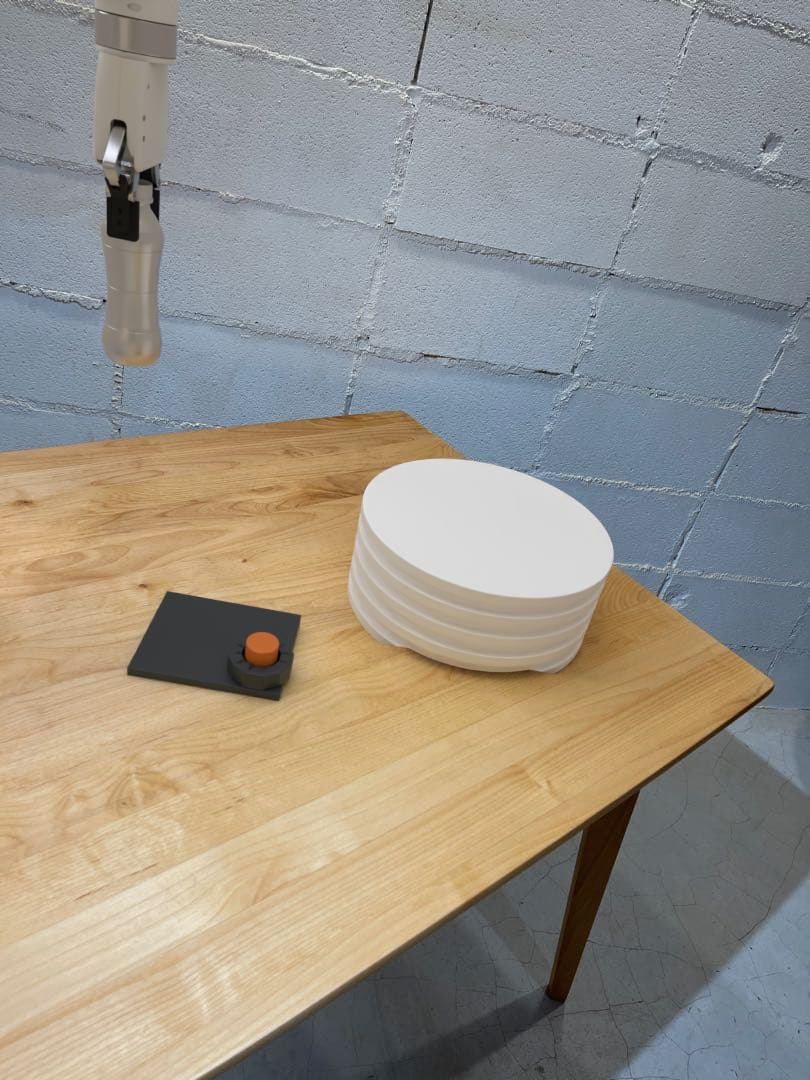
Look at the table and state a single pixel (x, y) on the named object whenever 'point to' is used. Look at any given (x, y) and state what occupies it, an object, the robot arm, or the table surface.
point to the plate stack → (477, 566)
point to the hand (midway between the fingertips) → (133, 230)
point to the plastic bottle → (134, 289)
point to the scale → (214, 646)
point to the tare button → (261, 649)
